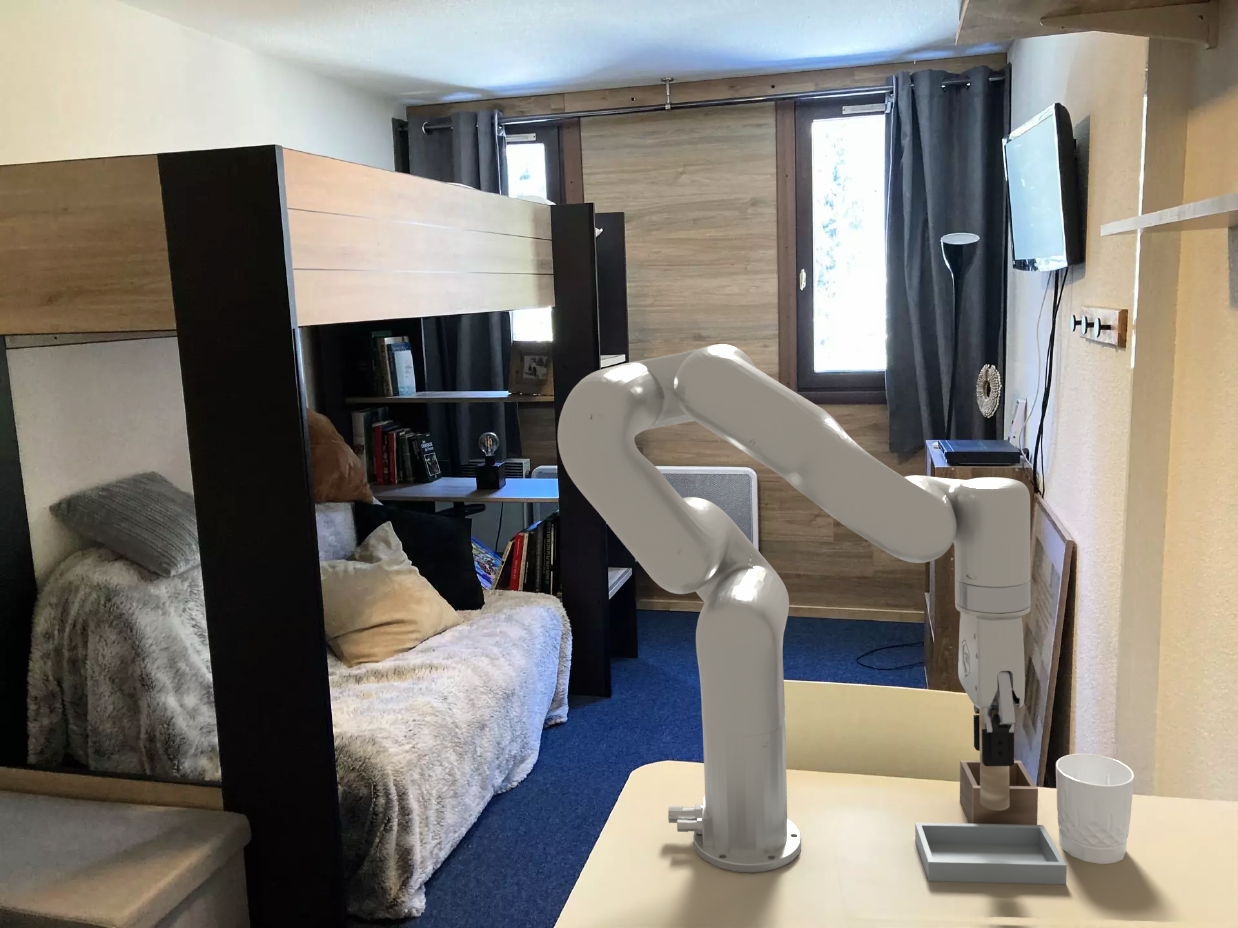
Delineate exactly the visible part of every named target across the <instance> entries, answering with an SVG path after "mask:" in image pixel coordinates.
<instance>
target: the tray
mask: <svg viewBox="0 0 1238 928" xmlns="http://www.w3.org/2000/svg"><path fill="white" fill-rule="evenodd" d="M914 825H915V826H914V831H915V833H914V839H915V840H914V841H915V844H916V848H917V850H918V854H919V856H920V859H921V863H922V866H923V868H924V873H925V875H926V879H927V881H928V882H938V883H939V882H940V883H941V882H943V883H944V882H945V883H946V882H947V883H950V882H951V883H982V884H983V883H984V884H988V883H989V884H1019V885H1022V884H1023V885H1024V884H1025V885H1059V886H1060V885H1063V886H1065V885H1067V873H1068V872H1067V871H1068V869H1067V866H1068V865H1067V863H1066V861H1065V860H1064V858H1063V856H1062V855H1061V853H1060V851H1059V850H1058V848H1057V846H1056V844H1055V843H1054V841H1053V839H1052V837H1051V836H1050V834H1049V831H1047V829H1046V827H1045V826H1044V824H1037V825H1017V824H970V823H955V822H952V823H951V822H915V823H914Z"/></svg>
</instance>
